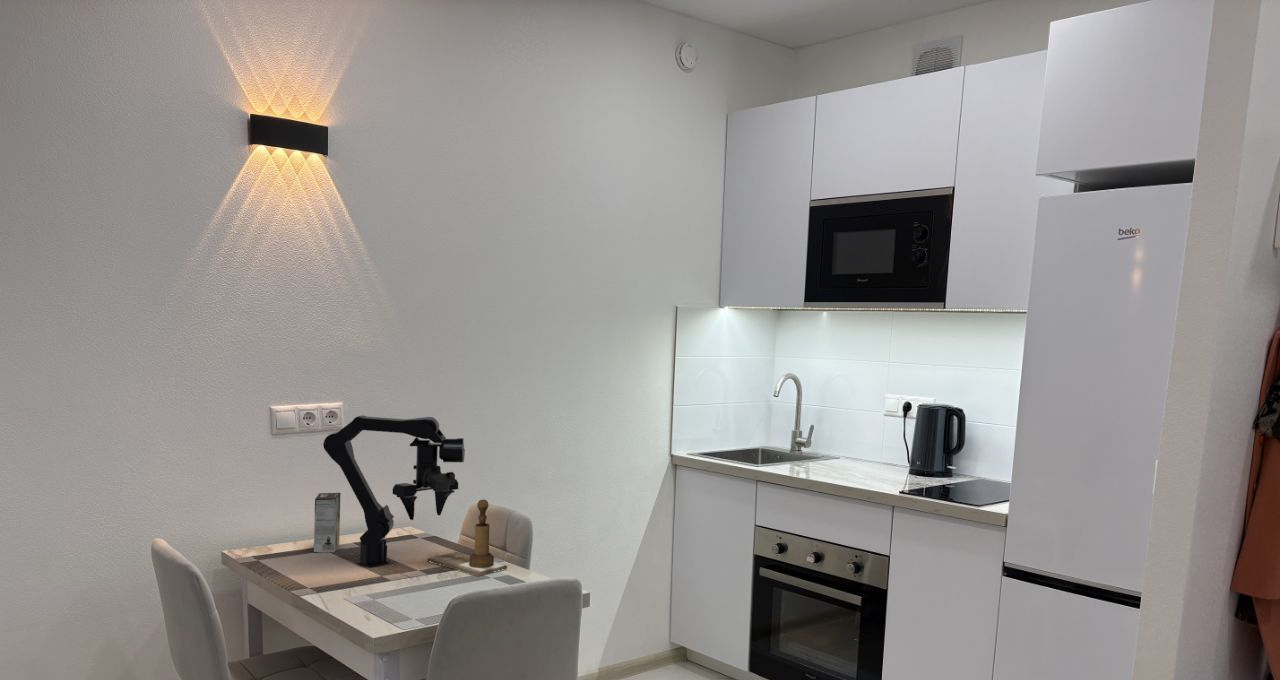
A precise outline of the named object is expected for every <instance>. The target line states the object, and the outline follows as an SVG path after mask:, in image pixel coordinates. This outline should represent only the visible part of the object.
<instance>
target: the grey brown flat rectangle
mask: <svg viewBox="0 0 1280 680" xmlns="http://www.w3.org/2000/svg"><path fill="white" fill-rule="evenodd" d="M470 556H471V555H469V554H465V553H462V552H459V551H454V552H451V553H446V554H445V553H444V554H441V555H440V554H439V555H435V556H432V557H431V556H430V557H427V559H426V560H427V561H431V562H434V563H437V564H441V565H444V566H447V567H451V568H454V569H457V570H460V571H463V572H462V573H464V572H467V573H469V574H468V575H471V574H473V575H472V576H474V575H476V576H475V577H477V576H478V577H482V576H485V575H484V574H486V575H489V574H488V573H490V574H492V573H491V572H494V571H498V570H502V569H506V568H507V569H508V565H507V564H505V563H504V564H503V563H501V562H496V561H494V564H493V566H490V567H486V568H475V567H471V566H470V565H469V558H470ZM437 564H436V565H437ZM447 567H446V568H447ZM454 569H453V570H454ZM507 569H506V570H507ZM457 570H456V571H457ZM460 571H459V572H460ZM502 571H503V570H502ZM498 572H499V571H498ZM467 573H466V574H467ZM494 573H495V572H494ZM481 575H482V576H481Z"/></svg>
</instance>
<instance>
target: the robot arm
mask: <svg viewBox="0 0 1280 680" xmlns="http://www.w3.org/2000/svg"><path fill="white" fill-rule="evenodd" d="M362 431H366V432H367V431H369V432H371V431H372V432H381V433H382V432H383V433H384V432H385V433H397V434H406V435H409V436H412V437H415V438H414V439H413V441H411V442H410V443H409V447H416V463H415V464H414V465H413V470H415V471H416V472H415V473H416V474H415V479H412V483H409V482H408V483H407V482H402V483H396V484H394V485H393V487H392V495H395V496H396V498H399V500H400V501H401V503H402V505H403V506H404V508H405V512H406V513H407V515H408V517H409V520H411V521H414V519H415V502H416V499H417V498H418V496H416V494H417V492H421V491H429V490H431V491H433V492H434V498H435V510H436V515H437V516H441V514H442V512H443V509H444V506H445V504H446V502H447V499H448V497H449V496H450V495H452V494H453V493H455V492H456V491H455V490H459V481H458V480H457V478H456V474H455V473H454V472H453V471H449V472H445V473H442V471H441V469H442V468H441V466H440V465H438V458H439V459H440V460H441V461H442V462H443V463H464V462H465V454H466V450H465V442H464V440H465V439H464V438H463V437H458V438H447V437H446V436H445V435H444V433H443V432H442V431H441V430H440V423H439V421H438V420H437V419H436V418H434V417H431V416H424V417H416V418H409V419H408V418H407V419H404V418H390V417H377V416H376V417H375V416H366V415H362V414H361V415H358V416H356V417H354V418H353V419H352V420H351V422H349V423H348V424H347V425H345V426H344V427H342V428H341V429H340V430H339V431H336V432H333V433H331V434H328V435H327V436H326V437H325V438H324V440H323V444H322V445H323V450H324V451H325V452H326V454H327V455H328V456H329V458H330V459H332V460H333V461H334V462H335V463H336V464H337V465H338V466H339V468H340V469H341V471H342V472H343V475H344V476H345V478H346V480H347V482H348V484H349V486H350V487H351V490H352V492H353V493H354V496H355V497H356V499H357V500H358V503H359V505H360V506H361V508H362V510H363V514H364V515H363V516H364V519H365V525H366V527H367V530H366V531H365V532H364V533H363V534H362V535H360V537H359V541H360V545H359V546H360V550H359V551H360V552H359V555H360V556H359V560H357V561H356V564H359V565H361V566H364V567H368V568H372V567H378V566H382V565H386V564H389V563H390V561H389V560H388V544H387V540H385V538H386V536H388V534H389V533H391V530H393V528H394V524H395V523H394V519H393V518H394V517H395V516H394V514H392V512H391V511H390V507H389V506H388V504H385V506H382V505H381V504H380V503H379V502H378V500H377V498H376V496H375V494H374V492H373V491H372V489H371V487H370V486H369V484H368V481H367V480H366V478H365V476H364V474H363V472H362V470H361V468H360V466H359V464H358V462H357V461H356V459H355V458H356V457H355V453H354V447H353V445H352V442H351V441H352V440H354V439H355V438H356V437H357V436H358V435H359V434H360V433H361V432H362ZM438 447H439V448H438ZM438 449H439V450H438Z"/></svg>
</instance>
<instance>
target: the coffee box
mask: <svg viewBox="0 0 1280 680" xmlns="http://www.w3.org/2000/svg"><path fill="white" fill-rule="evenodd" d="M341 495H342V494H341V492H319V493H318V494H317V496H316V497H315V498H314V521H313V522H314V528H313V529H314V531H313V553H314V552H322V553H336V552H337V550H338V548H339V546H340V530H341V527H340V526H341V525H340V524H341V523H340V522H341ZM335 551H336V552H335Z"/></svg>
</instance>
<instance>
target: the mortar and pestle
mask: <svg viewBox="0 0 1280 680" xmlns="http://www.w3.org/2000/svg"><path fill="white" fill-rule="evenodd" d="M476 506H477V509H478V511H479V515H478V516H477V517H478V522H479V523H477V524H475V526H474V553H472V554H471V555H470V558H469V565H470V566H471V567H475V568H486V567H490V566H493V564H494V562H495V560H494V559H495V558H494V555H493V554H492V553H491V552H490V523H486V521H487V517H488V516H487V515H486V511H487V510H488V508H489V502H488V500H487V499H480V500H478V502H477V504H476Z"/></svg>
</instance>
